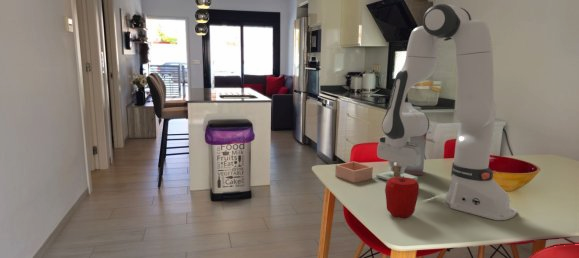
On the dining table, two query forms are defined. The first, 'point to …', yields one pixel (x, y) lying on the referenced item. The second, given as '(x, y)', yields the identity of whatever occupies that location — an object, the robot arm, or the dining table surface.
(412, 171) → the bottle
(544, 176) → the dining table surface
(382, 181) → the mat
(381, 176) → the lid
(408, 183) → the apple
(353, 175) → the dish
